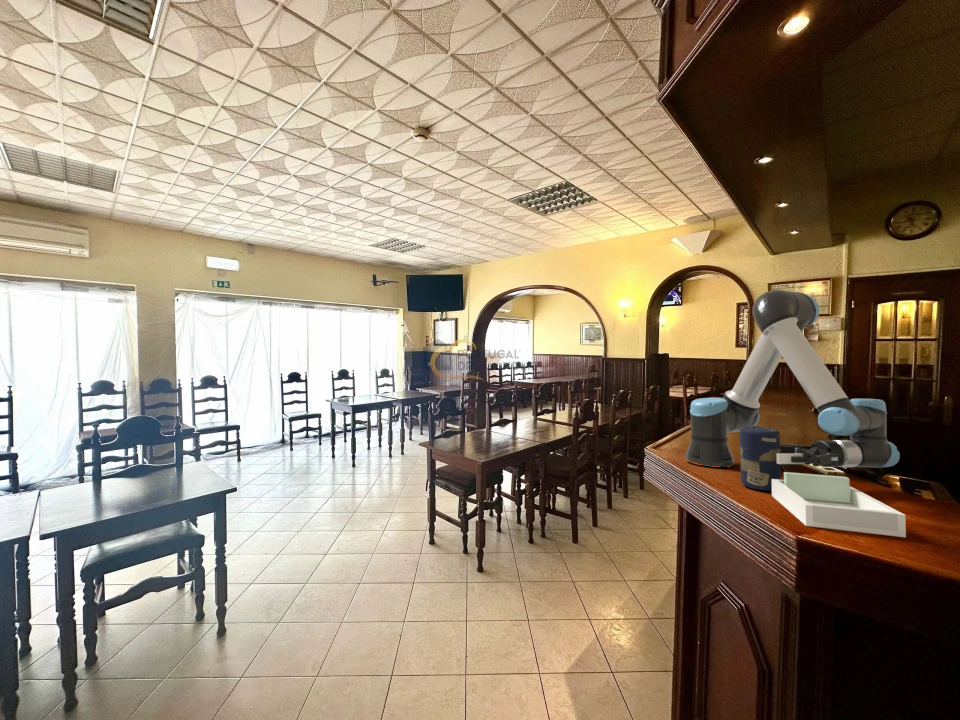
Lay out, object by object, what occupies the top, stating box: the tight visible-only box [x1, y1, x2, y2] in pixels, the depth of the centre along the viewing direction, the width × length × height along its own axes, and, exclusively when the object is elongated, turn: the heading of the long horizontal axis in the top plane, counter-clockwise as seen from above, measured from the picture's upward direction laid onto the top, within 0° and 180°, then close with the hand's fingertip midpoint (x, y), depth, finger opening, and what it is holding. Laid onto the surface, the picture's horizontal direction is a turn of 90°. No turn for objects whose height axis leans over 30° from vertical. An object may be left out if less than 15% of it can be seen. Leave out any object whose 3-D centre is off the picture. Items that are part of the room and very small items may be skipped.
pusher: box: [783, 471, 851, 503], centre depth 99 cm, size 2×13×6 cm, turn 69°
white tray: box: [771, 479, 907, 538], centre depth 93 cm, size 22×16×4 cm
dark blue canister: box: [739, 424, 782, 491], centre depth 113 cm, size 10×10×18 cm
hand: (759, 453), depth 113 cm, fingers open, 13 cm apart
